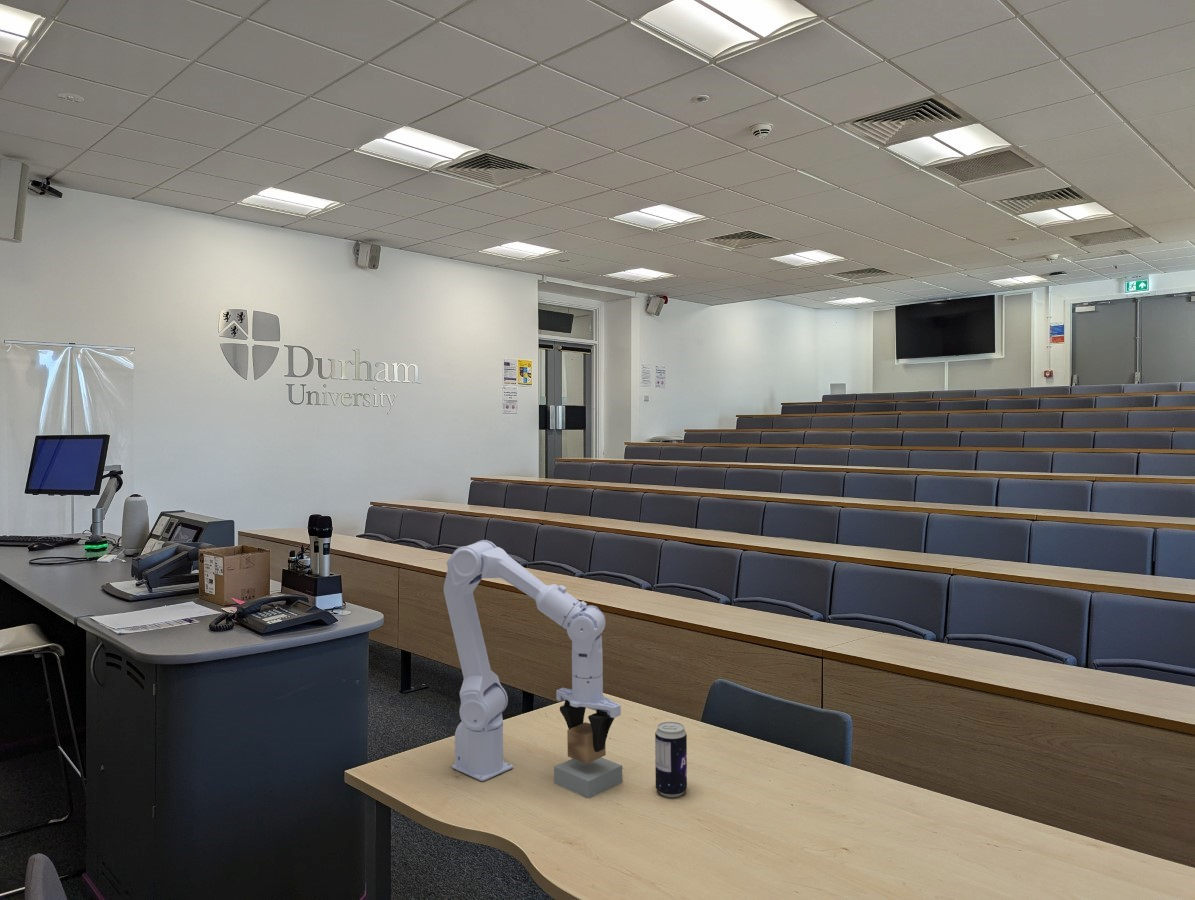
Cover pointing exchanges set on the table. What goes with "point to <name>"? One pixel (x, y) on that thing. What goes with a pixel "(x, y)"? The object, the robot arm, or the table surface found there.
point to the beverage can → (671, 759)
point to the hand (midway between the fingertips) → (588, 746)
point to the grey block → (588, 776)
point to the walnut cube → (582, 744)
